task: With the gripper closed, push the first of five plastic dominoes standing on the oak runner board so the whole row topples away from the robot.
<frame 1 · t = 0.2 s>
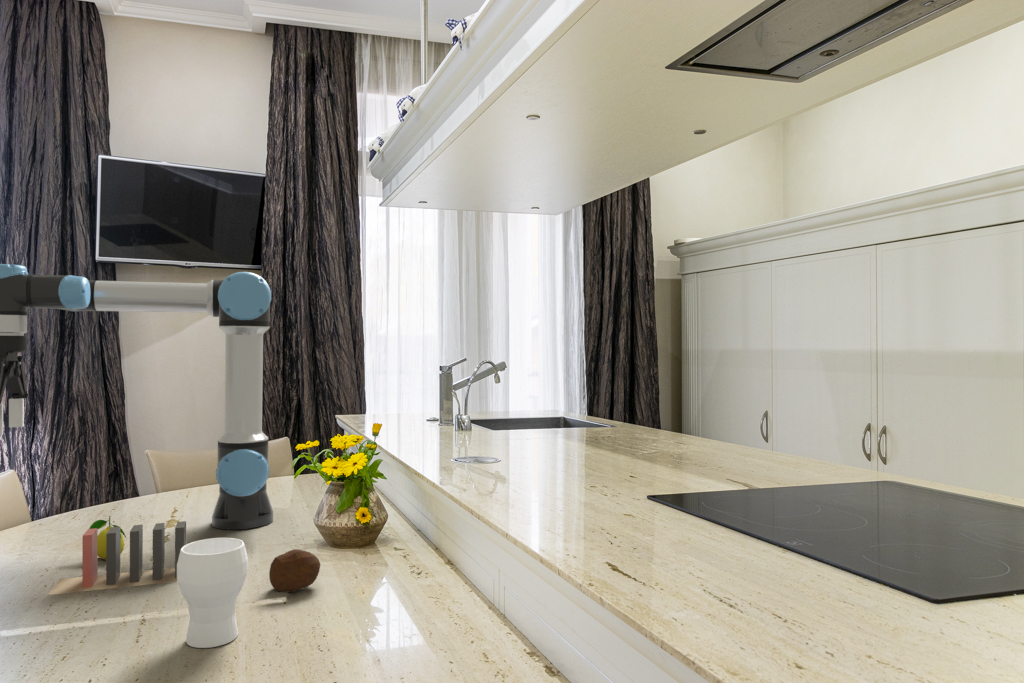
hand: (6, 431, 154), 28 cm above the counter, fingers open, 13 cm apart
domino 2: (158, 576, 140), point 1 cm above the counter, touching runner board
cup: (212, 639, 113), on the counter
domino 5: (90, 583, 136), point 1 cm above the counter, touching runner board
domino 4: (113, 580, 137), point 1 cm above the counter, touching runner board
runner board: (130, 582, 138), on the counter
potato: (295, 591, 135), on the counter
lemon: (108, 563, 151), on the counter
domino 1: (180, 573, 141), point 1 cm above the counter, touching runner board
domino 3: (136, 578, 139), point 1 cm above the counter, touching runner board
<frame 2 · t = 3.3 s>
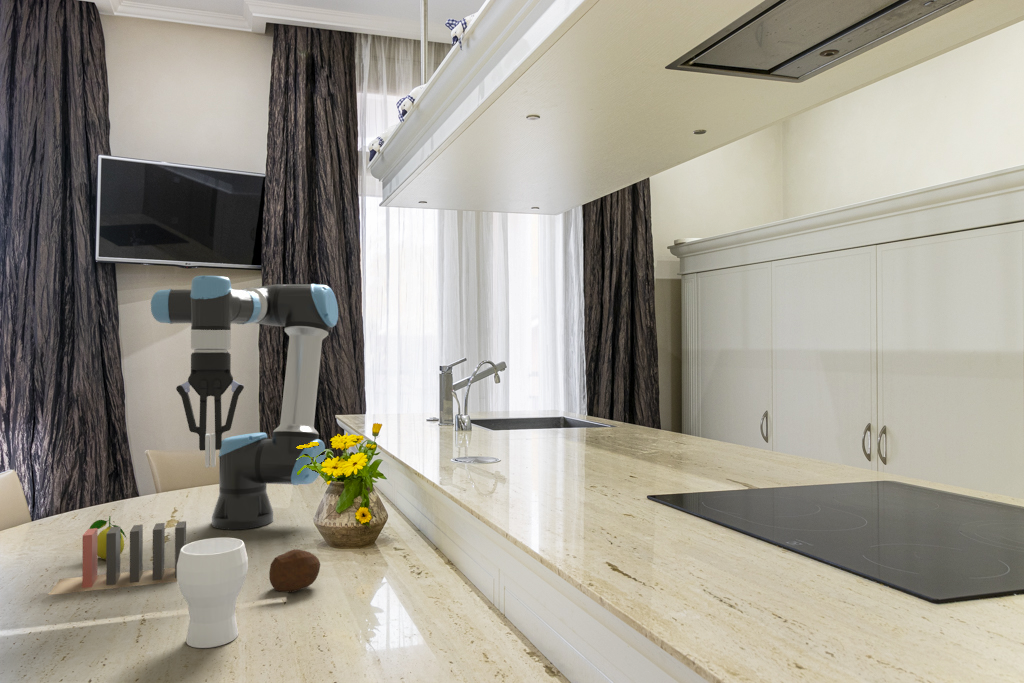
hand: (210, 465, 143), 22 cm above the counter, fingers closed
nothing on the counter moved.
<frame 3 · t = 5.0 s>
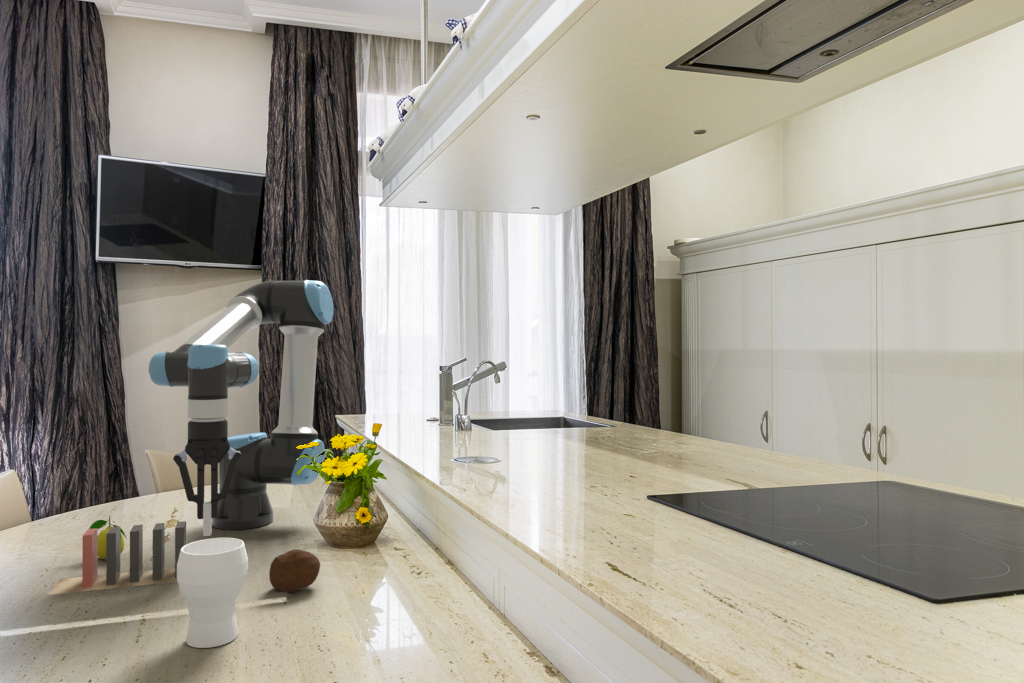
hand: (207, 533, 143), 8 cm above the counter, fingers closed
nothing on the counter moved.
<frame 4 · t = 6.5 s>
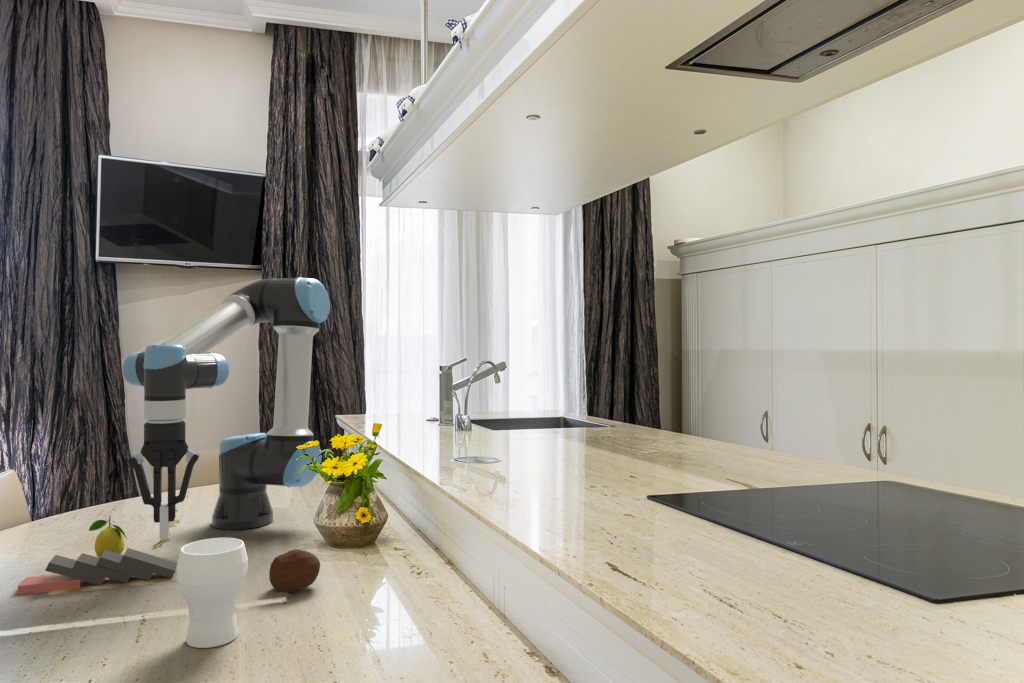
hand: (164, 537, 140), 8 cm above the counter, fingers closed
domino 2: (152, 572, 140), point 2 cm above the counter, tilted 66°, touching domino 1, domino 3
domino 5: (83, 579, 135), point 2 cm above the counter, tilted 90°, touching domino 4, runner board
domino 4: (105, 577, 137), point 2 cm above the counter, tilted 67°, touching domino 3, domino 5
domino 1: (174, 570, 141), point 2 cm above the counter, tilted 66°, touching domino 2, runner board
domino 3: (131, 575, 138), point 2 cm above the counter, tilted 67°, touching domino 2, domino 4, runner board
everything else where it was.
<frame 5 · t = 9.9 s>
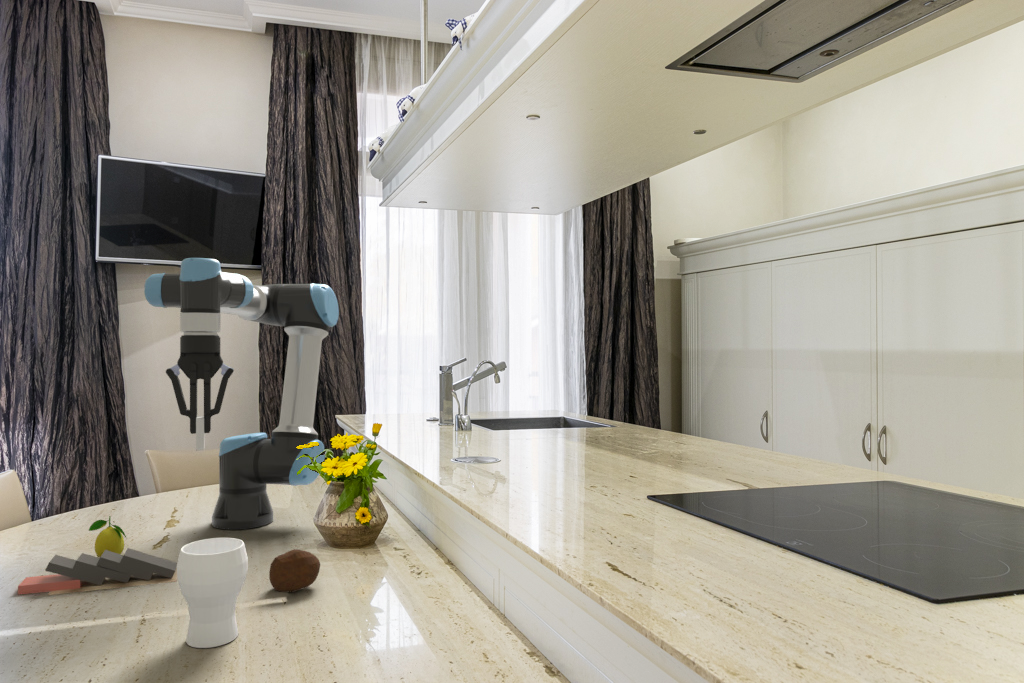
hand: (200, 449, 143), 26 cm above the counter, fingers closed
nothing on the counter moved.
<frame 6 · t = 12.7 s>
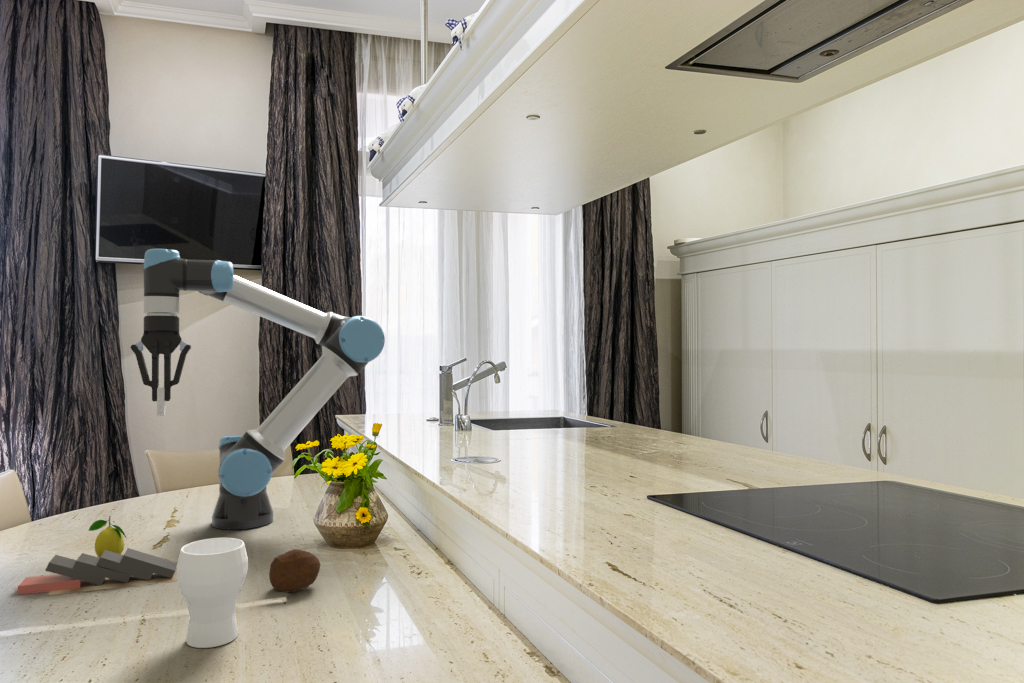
hand: (161, 415, 164), 30 cm above the counter, fingers closed
nothing on the counter moved.
at the end: domino 5 tilted 90°; domino 1 tilted 66° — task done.
